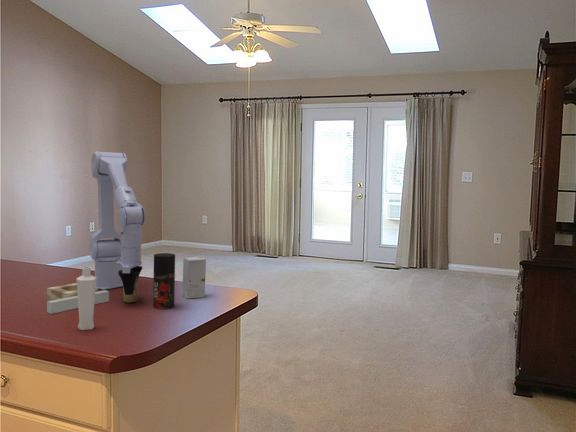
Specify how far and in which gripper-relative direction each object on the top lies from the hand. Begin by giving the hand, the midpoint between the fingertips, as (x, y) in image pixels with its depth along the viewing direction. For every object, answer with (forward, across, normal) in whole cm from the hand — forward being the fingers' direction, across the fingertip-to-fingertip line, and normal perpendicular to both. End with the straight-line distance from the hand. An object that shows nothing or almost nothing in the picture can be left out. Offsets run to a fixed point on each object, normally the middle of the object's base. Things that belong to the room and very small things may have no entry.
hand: (130, 292), depth 153 cm
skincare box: (+3, -7, +18) cm, 19 cm away
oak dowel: (+2, 0, 0) cm, 2 cm away
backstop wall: (+3, +6, -13) cm, 14 cm away
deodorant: (+3, +5, +10) cm, 12 cm away
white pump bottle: (+3, +25, -6) cm, 26 cm away
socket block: (+3, 0, -16) cm, 16 cm away
